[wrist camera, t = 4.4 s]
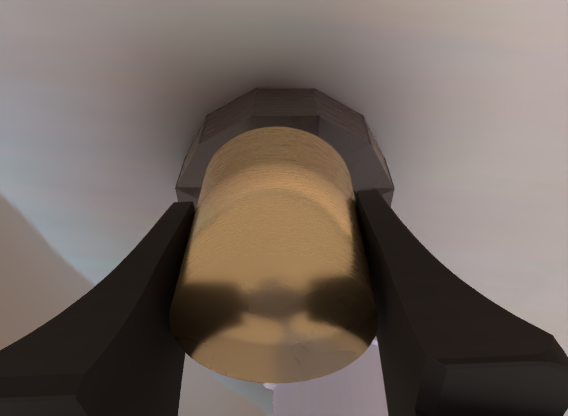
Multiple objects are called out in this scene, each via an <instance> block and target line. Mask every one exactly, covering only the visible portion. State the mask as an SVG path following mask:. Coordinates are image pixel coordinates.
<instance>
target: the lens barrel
mask: <svg viewBox="0 0 568 416" xmlns="http://www.w3.org/2000/svg"><path fill="white" fill-rule="evenodd" d="M264 127H289V128H295V129H299V130H303V131H306V132H309V133H311V134H313V135H315V136H318V137H319V138H321V139H323V140H324V141H326V142H327V143H328V144H330V145H331V146H332V147H333V148H334V149H335V150H336V151H337V152H338V153H339V154H340V156H341V157H342V159H343V160H344V162H345V164H346V166H347V168H348V170H349V174H350V177H351V182H352V187H353V192H354V197H355V202H356V199H357V191H363V190H378V191H379V192H380V193H381V194H382V196H383V197H384V199H385V200H386V202H387V203H388V205H389V206H391V201H392V197H393V192H394V185H393V182H392V179H391V176H390V173H389V170H388V167H387V164H386V161H385V158H384V157H383V155H382V153H381V151H380V149H379V147H378V145H377V143H376V141H375V139H374V137H373V135H372V133H371V131H370V129H369V127H368V125H367V123H366V121H365V119H364V116H363V115H360V114H358V113H357V112H355V111H353V110H351V109H350V108H348V107H346V106H344V105H342V104H341V103H339V102H337V101H335V100H334V99H332V98H330V97H328V96H327V95H325V94H323V93H321V92H319V91H318V90H316V89H257V88H256V89H254V90H252V91H250V92H249V93H247V94H245V95H243V96H241V97H240V98H238V99H236V100H234V101H233V102H231V103H229V104H227V105H225V106H224V107H222V108H220V109H218V110H216V111H215V112H213V113H211V114H209V115H207V116H206V119H205V121H204V123H203V125H202V127H201V129H200V131H199V133H198V135H197V136H196V138H195V140H194V142H193V144H192V146H191V148H190V150H189V152H188V154H187V156H186V157H185V160H184V163H183V166H182V169H181V172H180V175H179V178H178V181H177V184H176V188H175V189H176V192H177V198H178V202H190V201H193V204H194V207H195V211H196V207H197V204H198V200H199V196H200V192H201V188H202V184H203V180H204V177H205V173H206V169H207V167H208V165H209V163H210V161H211V159H212V158H213V156H214V155H215V153H216V152H217V151H218V150H219V149H220V148H221V147H222V146H223V145H224V144H226V143H227V142H228V141H230V140H231V139H233V138H234V137H236V136H238V135H240V134H243V133H245V132H248V131H251V130H254V129H259V128H264Z"/></svg>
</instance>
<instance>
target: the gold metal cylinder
mask: <svg viewBox="0 0 568 416" xmlns="http://www.w3.org/2000/svg"><path fill="white" fill-rule="evenodd" d="M378 322H379V320H378V311H377V306H376V301H375V296H374V291H373V286H372V281H371V276H370V271H369V266H368V261H367V256H366V251H365V247H364V242H363V237H362V232H361V227H360V222H359V217H358V212H357V207H356V202H355V197H354V192H353V187H352V182H351V177H350V174H349V170H348V168H347V166H346V164H345V162H344V160H343V159H342V157H341V156H340V154H339V153H338V152H337V151H336V150H335V149H334V148H333V147H332V146H331V145H330V144H328V143H327V142H326V141H324V140H323V139H321V138H319V137H318V136H315V135H313V134H311V133H309V132H306V131H303V130H299V129H295V128H289V127H264V128H259V129H254V130H251V131H248V132H245V133H243V134H240V135H238V136H236V137H234V138H233V139H231V140H230V141H228V142H227V143H226V144H224V145H223V146H222V147H221V148H220V149H219V150H218V151H217V152H216V153H215V155H214V156H213V158H212V159H211V161H210V163H209V165H208V167H207V169H206V173H205V177H204V180H203V184H202V188H201V192H200V196H199V200H198V204H197V207H196V211H195V215H194V219H193V223H192V227H191V230H190V234H189V238H188V242H187V246H186V250H185V254H184V257H183V261H182V265H181V269H180V273H179V277H178V281H177V284H176V288H175V292H174V296H173V300H172V304H171V308H170V312H169V323H170V329H171V331H172V334H173V336H174V338H175V340H176V342H177V343H178V345H179V346H180V347H181V348H182V349H183V351H184V352H185V353H187V354H188V355H189V356H190V357H191V358H192V359H194V360H195V361H197V362H198V363H199V364H201V365H203V366H205V367H206V368H208V369H210V370H213V371H215V372H217V373H220V374H223V375H225V376H228V377H232V378H236V379H239V380H245V381H250V382H258V383H294V382H301V381H307V380H312V379H316V378H320V377H323V376H326V375H329V374H332V373H334V372H336V371H339V370H341V369H343V368H344V367H346V366H348V365H350V364H351V363H353V362H354V361H355V360H357V359H358V358H359V357H360V356H361V355H362V354H363V353H365V351H366V350H367V349H368V348H369V346H370V345H371V344H372V342H373V340H374V338H375V336H376V333H377V330H378Z"/></svg>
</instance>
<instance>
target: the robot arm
mask: <svg viewBox="0 0 568 416" xmlns="http://www.w3.org/2000/svg"><path fill="white" fill-rule="evenodd" d="M356 207H357V212H358V217H359V222H360V227H361V232H362V237H363V242H364V247H365V251H366V256H367V261H368V266H369V271H370V276H371V281H372V286H373V291H374V296H375V301H376V306H377V311H378V320H379V322H378V330H377V333H376V337H375V338H374V340H373V342H372V344H371V345H370V346H369V348H368V349H367V350H366V351H365V353H363V354H362V355H361V356H360V357H359V358H358V359H357V360H355V361H354V362H353V363H351V364H350V365H348V366H346V367H344V368H343V369H341V370H339V371H336V372H334V373H332V374H329V375H326V376H323V377H320V378H316V379H312V380H307V381H301V382H294V383H263V386H264V387H265V388H268V389H271V390H273V416H563V415H564V413H565V412H566V410H567V409H568V357H567V355H566V353H565V352H564V350H563V349H562V348H561V346H560V345H559V344H558V342H557V341H556V340H555V338H554V336H553V335H551V334H549V333H547V332H545V331H543V330H542V329H540V328H538V327H536V326H534V325H532V324H530V323H528V322H526V321H524V320H523V319H521V318H519V317H517V316H515V315H513V314H512V313H510V312H508V311H507V310H505V309H504V308H502V307H500V306H499V305H497V304H495V303H494V302H492V301H491V300H489V299H488V298H486V297H485V296H483V295H482V294H480V293H479V292H478V291H476V290H475V289H473V288H472V287H470V286H469V285H468V284H466V283H465V282H463V281H462V280H461V279H460V278H458V277H457V276H456V275H455V274H453V273H452V272H451V271H450V270H449V269H448V268H446V267H445V266H444V265H443V264H442V263H441V262H440V261H438V260H437V259H436V258H435V257H434V256H433V255H432V254H431V253H430V252H429V251H428V250H427V249H426V248H425V247H424V246H423V245H422V244H421V243H420V242H419V241H418V240H417V239H416V237H415V236H414V235H413V234H412V233H411V232H410V231H409V230H408V228H407V227H406V226H405V225H404V224H403V223H402V221H401V220H400V219H399V218H398V216H397V215H396V214H395V213H394V211H393V210H392V209H391V207H390V206H389V205H388V203H387V202H386V200H385V199H384V197H383V196H382V194H381V193H380V192H379V191H378V190H363V191H357V199H356ZM194 215H195V207H194V204H193V201H190V202H174V203H173V204H172V205H171V206H170V207H169V209H168V210H167V211H166V212H165V213H164V214H163V216H162V217H161V218H160V219H159V221H158V222H157V223H156V224H155V225H154V227H153V228H152V229H151V230H150V231H149V232H148V234H147V235H146V236H145V237H144V238H143V239H142V240H141V242H140V243H139V244H138V245H137V246H136V247H135V248H134V249H133V251H132V252H131V253H130V254H129V255H128V256H127V257H126V258H125V259H124V260H123V261H122V262H121V263H120V264H119V265H118V266H117V267H116V268H115V269H114V270H113V271H112V272H111V273H110V274H109V275H108V276H106V277H105V278H104V279H103V280H102V281H101V282H100V283H98V284H97V285H96V286H95V287H94V288H93V289H92V290H90V291H89V292H88V293H87V294H85V295H84V296H83V297H81V298H80V299H79V300H77V301H76V302H75V303H73V304H72V305H71V306H70V307H68V308H67V309H66V310H64V311H63V312H61V313H60V314H59V315H57V316H56V317H54V318H53V319H51V320H50V321H48V322H47V323H45V324H44V325H42V326H41V327H39V328H38V329H36V330H34V331H33V332H32V333H30V334H28V335H27V336H25V337H23V338H22V339H20V340H18V341H16V342H14V343H13V344H11V345H9V346H7V347H5V348H4V349H2V350H0V416H178V408H179V399H180V389H181V381H182V373H183V365H184V359H185V352H184V351H183V349H182V348H181V347H180V346H179V345H178V343H177V342H176V340H175V338H174V336H173V334H172V331H171V329H170V323H169V312H170V308H171V304H172V300H173V296H174V292H175V288H176V284H177V281H178V277H179V273H180V269H181V265H182V261H183V257H184V254H185V250H186V246H187V242H188V238H189V234H190V230H191V227H192V223H193V219H194Z"/></svg>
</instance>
